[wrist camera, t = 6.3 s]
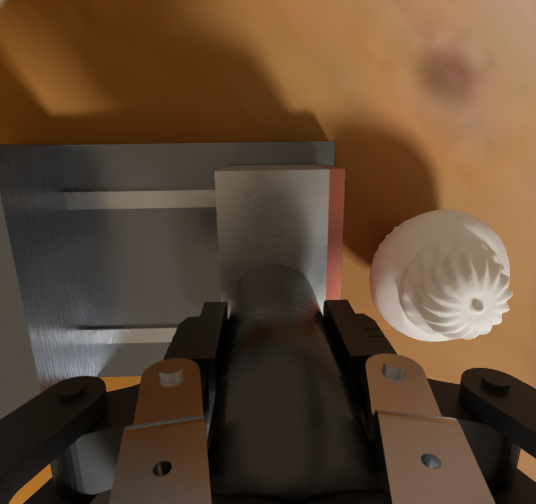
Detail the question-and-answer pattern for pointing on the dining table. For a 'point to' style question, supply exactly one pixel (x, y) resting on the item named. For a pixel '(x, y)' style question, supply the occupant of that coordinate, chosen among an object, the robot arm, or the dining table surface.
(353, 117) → the dining table surface
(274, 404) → the sliding jaw
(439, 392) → the robot arm
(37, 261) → the jaw track
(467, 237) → the white rounded ridged piece
